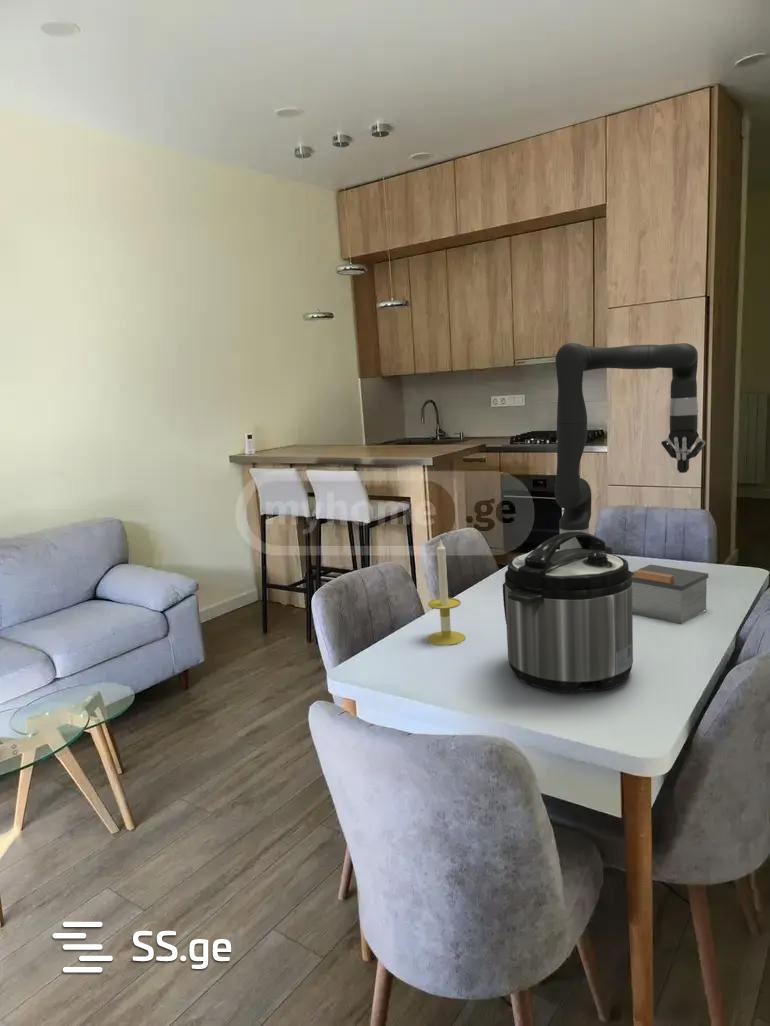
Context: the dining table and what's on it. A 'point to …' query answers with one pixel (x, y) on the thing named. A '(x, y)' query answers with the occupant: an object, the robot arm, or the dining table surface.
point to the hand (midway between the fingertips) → (683, 472)
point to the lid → (667, 577)
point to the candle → (444, 606)
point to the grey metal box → (669, 601)
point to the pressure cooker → (569, 615)
